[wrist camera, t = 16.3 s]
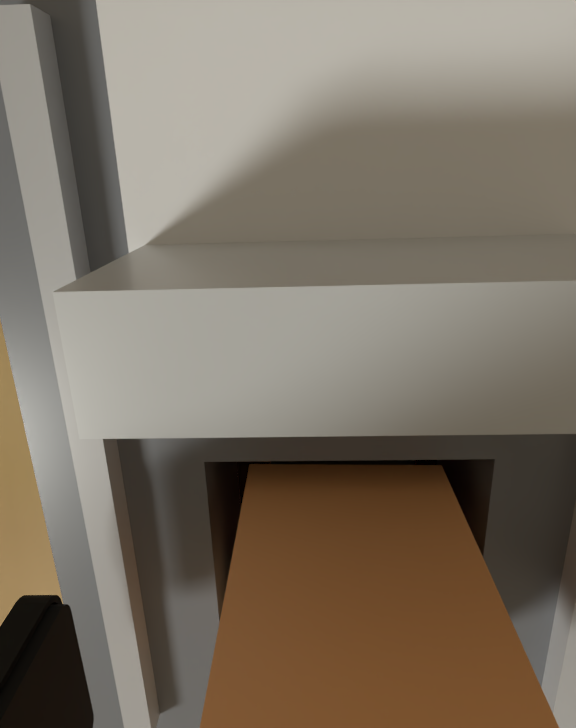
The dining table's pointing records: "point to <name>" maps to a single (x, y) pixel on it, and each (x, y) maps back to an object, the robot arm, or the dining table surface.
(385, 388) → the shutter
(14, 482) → the dining table surface
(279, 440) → the grey sliding cover box
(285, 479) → the tan rectangular block
